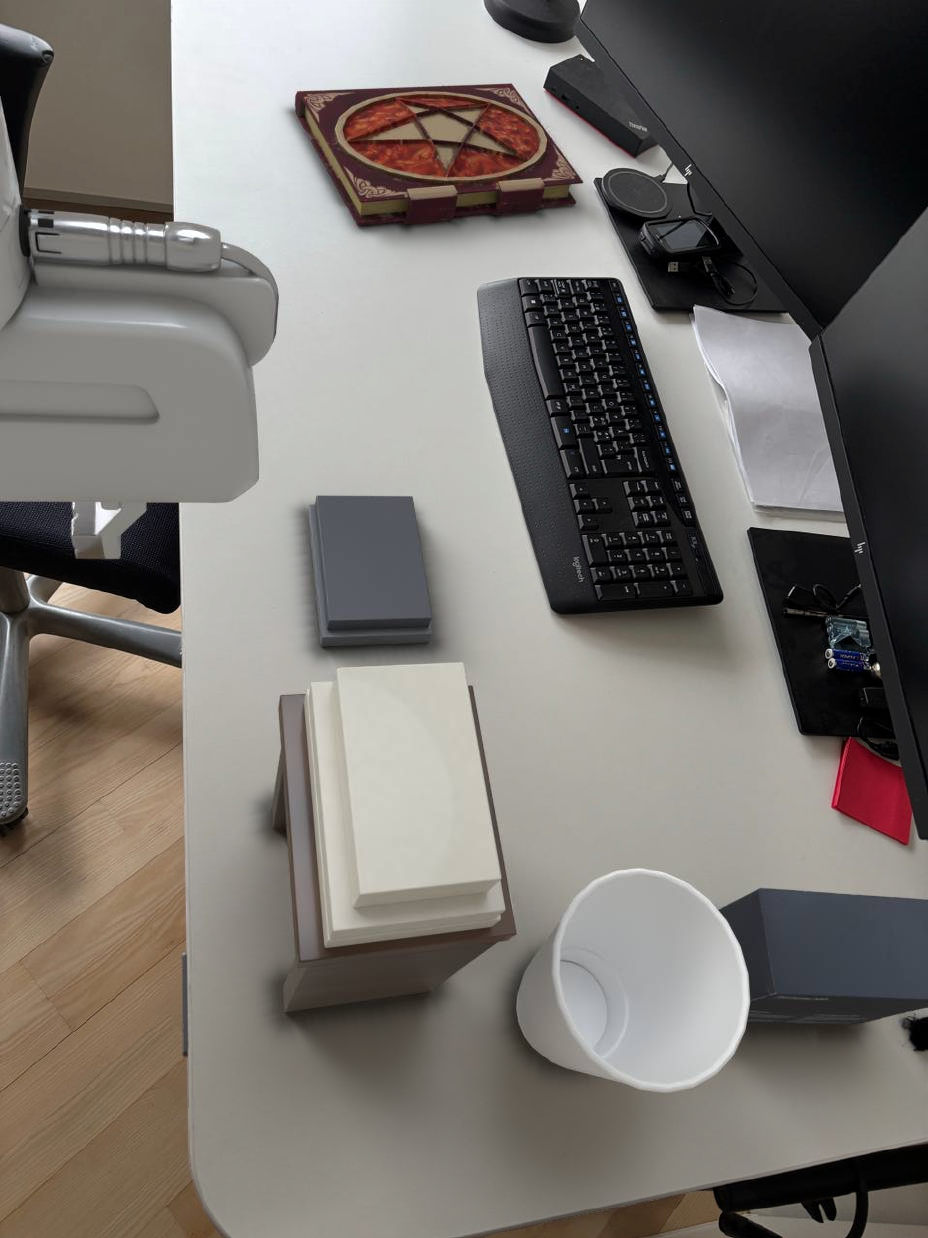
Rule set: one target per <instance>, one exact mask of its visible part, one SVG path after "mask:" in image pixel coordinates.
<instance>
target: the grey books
mask: <svg viewBox="0 0 928 1238" xmlns="http://www.w3.org/2000/svg"><path fill="white" fill-rule="evenodd" d="M307 518H308V528H309V529H308V530H309V539H310V549H311V557H312V558H311V559H312V570H313V571H312V572H313V581H314V590H315V602H316V612H317V620H318V621H317V622H318V632H319V642H320V647H343V646H367V645H368V646H372V645H397V644H399V645H400V644H424V643H429V642H430V639H431V638H432V635H433V630H432V624H431V622H432V620H433V612H432V607H431V601H430V600H431V599H430V596H429V595H430V594H429V588H428V583H427V576H426V571H425V570H426V569H425V564H424V558H423V551H422V546H421V540H420V532H419V527H418V520H417V515H416V508H415V501H414V496H412V495H410V496H409V495H316V496H315V501H314V504H311V503H309V506H308V514H307Z"/></svg>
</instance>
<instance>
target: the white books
mask: <svg viewBox="0 0 928 1238" xmlns="http://www.w3.org/2000/svg"><path fill="white" fill-rule="evenodd" d="M332 684H333V680H332V681H331V680H330V681H313V682H311V683H310V686H309V688H306V689H305V694H306V695H305V700H304V709H305V721H306V733H307V745H308V756H309V768H310V780H311V792H312V804H313V816H314V828H315V840H316V852H317V863H318V875H319V887H320V899H321V911H322V923H323V935H324V946H325V948H330V947H338V946H346V945H354V944H362V943H370V942H377V941H385V940H393V939H401V938H409V937H417V936H425V935H432V934H440V933H448V932H456V931H464V930H472V929H480V928H488V927H492V926H493V925H495V924H496V923H497V922H498V921H500V920H501V916H500V914H501V913H503V912H504V911H505V904H504V898H503V892H502V886H501V881H499V882H498V883H497V884H496V885H495V886H494V887H493V888H491V889H490V890H489V891H488V892H486V893H478V894H469V895H461V896H452V897H443V898H435V899H426V900H417V901H409V902H400V903H392V904H383V905H374V906H366V907H357V908H354V907H353V906H352V896H351V886H350V876H349V866H348V856H347V846H346V836H345V826H344V816H343V806H342V796H341V786H340V775H339V765H338V755H337V745H336V735H335V725H334V715H333V705H332V695H331V688H332Z"/></svg>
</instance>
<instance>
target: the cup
mask: <svg viewBox="0 0 928 1238" xmlns="http://www.w3.org/2000/svg"><path fill="white" fill-rule="evenodd" d="M718 910H719V909H718V908H717V907H716V906H715V905H714V904H713V902H712V901H711V900H710V899H709V898H708V897H707V896H706V895H704V894H703V893H701V892H700V891H699V890H698V889H697V888H695V887H694V886H693V885H691V884H690V883H688V882H686V881H684V880H683V879H681V878H678V877H676V876H673V875H671V874H670V873H667V872H665V871H659V870H654V869H648V868H641V867H638V868H629V869H628V868H627V869H621V870H620V869H619V870H613V871H611V872H608V873H607V874H604V875H603V876H599V877H597V878H596V879H593V880H592V881H590V882H589V883H588V884H587V885H585V887H584V888H582V889H581V890H580V891H579V892H578V893H577V894H575V895H574V897H573V898H572V900H571V901H570V902H569V905H568V906H567V907H566V909H565V910H564V913H562V915H561V917H560V919H559V921H558V922H557V924H556V925H555V927H554V928H553V930H552V931H551V932H550V934H549V935H548V937H547V938H546V939H545V941H544V943H543V944H542V945H541V947H540V948H539V950H537V952H536V954H535V955H534V957H533V958H532V960H531V961H530V962H529V964H528V966H527V967H526V969H525V970H524V972H523V975H522V978H521V982H520V985H519V989H518V991H517V995H516V1005H515V1006H516V1007H515V1011H516V1015H517V1022H518V1025H519V1027H520V1030H521V1032H522V1034H523V1037H524V1039H526V1041H527V1043H528V1044H529V1045H530V1046H531V1048H532V1049H534V1050H535V1051H536V1052H537V1053H538V1054H539V1055H541V1056H542V1057H544V1058H546V1059H547V1060H548V1061H550V1062H551V1063H552V1064H553V1063H554V1064H555V1065H557V1066H560V1067H562V1068H565V1069H567V1070H572V1071H575V1072H580V1073H583V1074H586V1075H591V1076H595V1077H598V1078H602V1079H606V1080H609V1081H614V1082H618V1083H622V1084H626V1085H628V1086H631V1087H632V1088H635V1089H637V1090H641V1091H648V1092H656V1093H663V1094H669V1093H673V1092H679V1091H685V1090H689V1089H694V1088H695V1087H697V1086H699V1085H701V1084H702V1083H704V1082H706V1081H708V1080H709V1079H711V1078H713V1077H714V1076H716V1075H717V1074H719V1072H720V1071H721V1070H722V1069H723V1068H724V1066H725V1065H727V1063H728V1062H729V1061H730V1060H731V1059H732V1057H733V1056H734V1055H735V1053H736V1051H737V1050H738V1047H739V1044H740V1043H741V1041H742V1038H743V1036H744V1034H745V1032H746V1028H747V1023H748V1022H747V1018H748V1012H749V1006H750V992H749V976H748V971H747V967H746V964H745V960H744V957H743V953H742V950H741V946H740V944H739V943H738V941H737V939H736V937H735V935H734V933H733V931H732V929H731V927H730V926H729V924H728V922H727V920H726V919H725V918H724V917H723V915H722V914H721V913H720V912H719V911H718Z"/></svg>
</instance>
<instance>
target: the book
mask: <svg viewBox="0 0 928 1238" xmlns="http://www.w3.org/2000/svg"><path fill="white" fill-rule="evenodd" d="M294 108H295V114H296V116H297V118H298V120H299V122H300V123H301V125H302V127H303V129H304V131H305V133H306V134H307V136H308V138H309V141H310V142H311V143H312V145H313V147H314V150H315V151H316V153H317V154H318V157H319V158H320V160H321V162H322V164H323V165H324V167H325V169H326V171H327V173H328V174H329V177H330V178H331V180H332V182H333V183H334V185H335V187H336V189H337V191H338V193H339V195H340V196H341V198H342V200H343V202H344V203H345V205H346V207H347V209H348V211H349V212H350V215H351V217H352V219H353V220H354V222H355V223H356V225H357V226H365V225H375V224H376V225H377V224H386V223H395V222H396V223H397V222H403V224H405V225H409V224H410V225H411V224H420V223H421V224H422V223H430V222H431V223H432V222H440V221H450V220H453V218H454V217H457V216H467V215H469V216H470V215H478V214H488V213H491V214H492V215H493V216H501V215H510V214H521V213H522V214H523V213H531V212H538V210H539V209H540V208H551V207H560V206H571V205H576V203H577V200H576V199H575V198H574V196H573V195H572V193H571V191H570V187H571V185H579V184H580V185H582V184H584V180H583V179H582V178H581V176H580V175H579V174H578V172H577V171H576V169H575V168H574V167H573V166H572V164H571V162H570V161H569V160H568V159H567V157H566V156H565V154H564V153H563V152H562V150H561V149H560V147H559V146H558V145H557V144H556V142H555V140H554V139H553V138H552V137H551V135H550V134H549V132H548V131H547V130H546V129H545V127H544V125H543V124H542V123H541V122H540V120H539V119H538V117H537V116H536V114H535V113H534V112H533V111H532V109H531V108H530V106H529V105H528V104H527V102H526V101H525V99H523V97H522V96H521V94H520V93H519V91H518V90H517V89H516V87H515V86H514V84H513V83H511V82H509V83H486V84H482V83H481V84H457V85H455V84H454V85H429V86H403V87H402V86H401V87H400V86H399V87H375V88H374V87H373V88H371V87H370V88H348V89H347V88H345V89H320V90H297V91H296V93H295V96H294Z"/></svg>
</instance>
